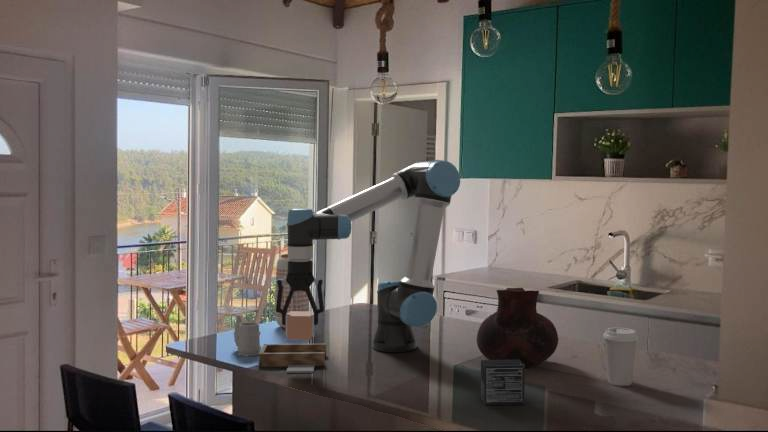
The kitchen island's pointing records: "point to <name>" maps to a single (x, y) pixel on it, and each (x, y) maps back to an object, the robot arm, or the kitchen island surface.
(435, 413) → the kitchen island surface
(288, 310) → the patterned vase
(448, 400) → the kitchen island surface
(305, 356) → the wooden tray
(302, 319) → the block
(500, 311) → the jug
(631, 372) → the coffee cup
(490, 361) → the small box
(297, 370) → the mat
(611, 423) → the kitchen island surface
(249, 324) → the mug
